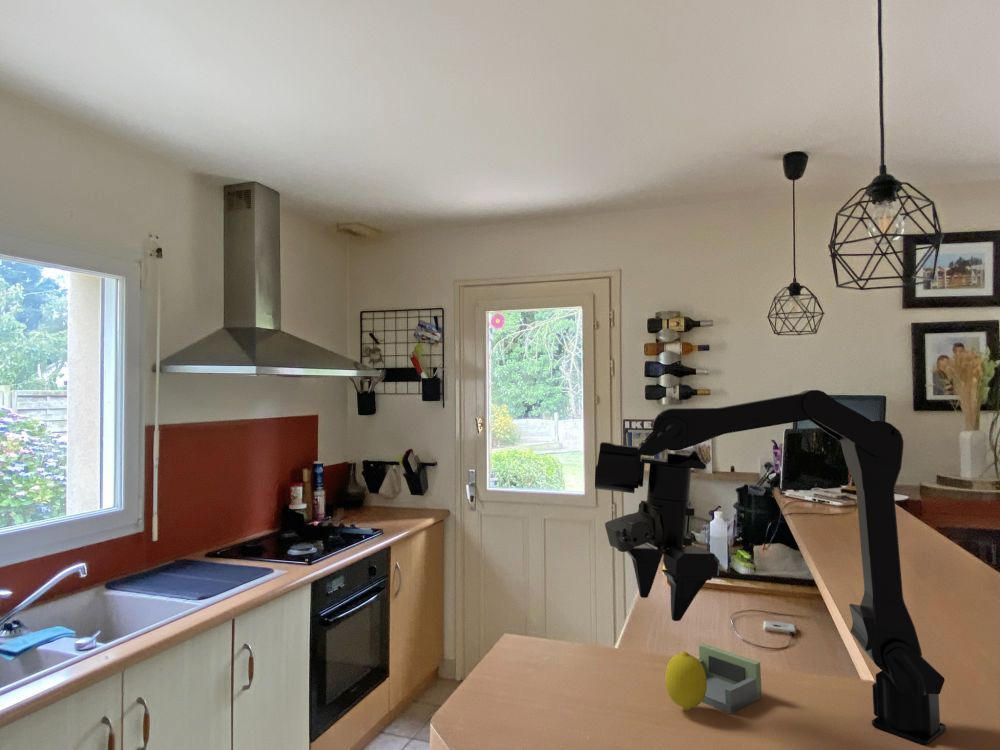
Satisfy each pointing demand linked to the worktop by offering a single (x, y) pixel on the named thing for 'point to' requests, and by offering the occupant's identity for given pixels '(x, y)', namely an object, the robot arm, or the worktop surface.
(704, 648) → the miniature couch
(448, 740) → the worktop surface
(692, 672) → the lemon
